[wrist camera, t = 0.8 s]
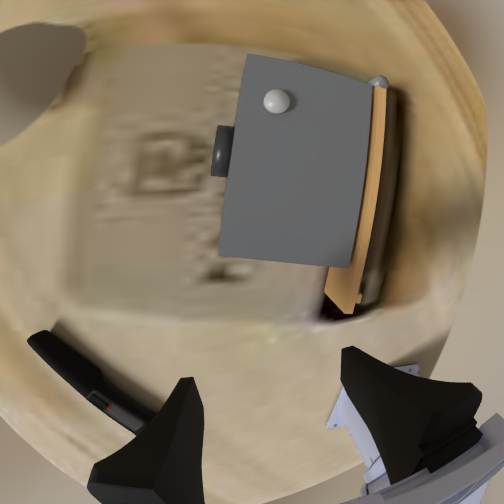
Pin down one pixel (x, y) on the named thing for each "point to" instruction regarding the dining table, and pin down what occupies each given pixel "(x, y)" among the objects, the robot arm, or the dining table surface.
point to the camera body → (293, 164)
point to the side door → (362, 208)
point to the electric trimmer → (90, 382)
